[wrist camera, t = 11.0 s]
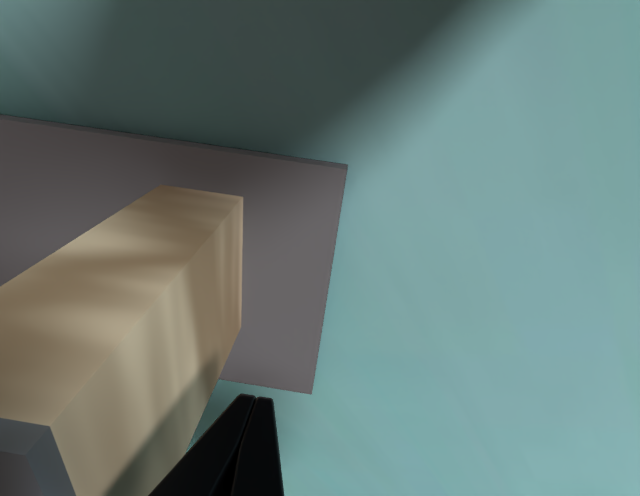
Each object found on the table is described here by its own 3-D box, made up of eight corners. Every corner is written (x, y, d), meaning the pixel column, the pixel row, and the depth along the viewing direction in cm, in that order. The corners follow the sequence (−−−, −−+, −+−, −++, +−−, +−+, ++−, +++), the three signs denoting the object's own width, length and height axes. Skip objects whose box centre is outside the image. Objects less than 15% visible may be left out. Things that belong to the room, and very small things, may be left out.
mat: (347, 164, 12) (347, 169, 12) (313, 384, 18) (311, 394, 17) (-93, 100, 13) (-112, 102, 12) (0, 332, 18) (-10, 341, 18)
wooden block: (243, 196, 13) (25, 455, 4) (241, 326, 16) (106, 631, 7) (160, 184, 13) (-203, 415, 5) (173, 315, 16) (-35, 604, 7)
